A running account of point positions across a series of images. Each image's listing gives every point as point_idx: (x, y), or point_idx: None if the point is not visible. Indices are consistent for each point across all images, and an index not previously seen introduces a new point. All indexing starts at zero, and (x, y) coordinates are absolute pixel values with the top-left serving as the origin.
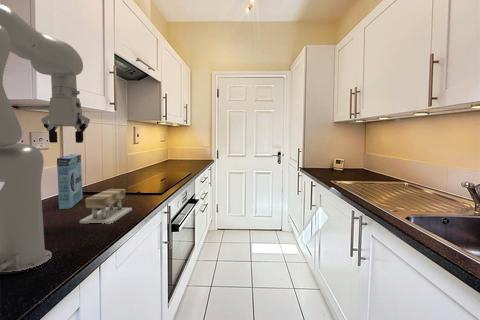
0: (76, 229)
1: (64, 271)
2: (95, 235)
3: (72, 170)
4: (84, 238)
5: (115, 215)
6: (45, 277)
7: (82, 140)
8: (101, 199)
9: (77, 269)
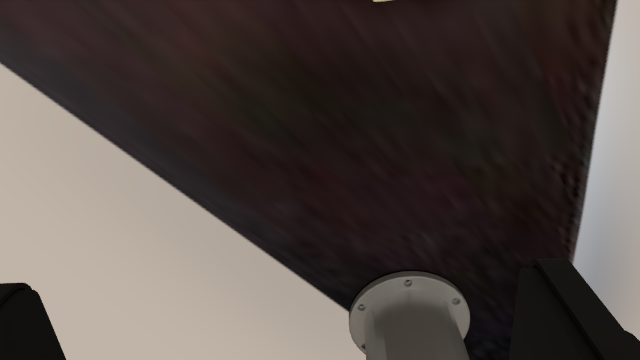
0: (373, 77)
1: None
2: (491, 125)
3: None
4: (465, 157)
5: None
6: (505, 352)
7: (579, 291)
8: None
9: None
